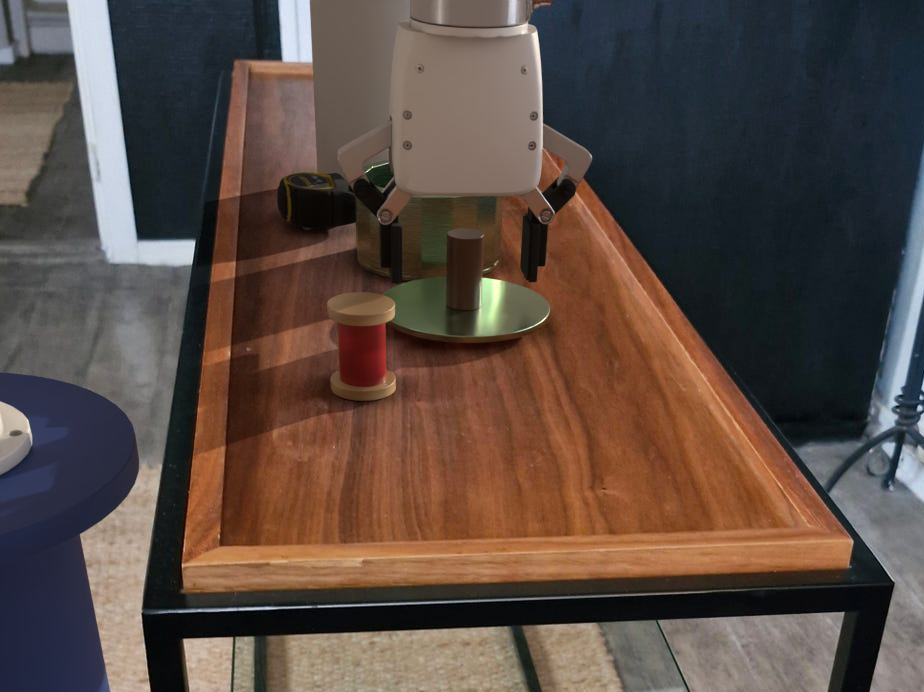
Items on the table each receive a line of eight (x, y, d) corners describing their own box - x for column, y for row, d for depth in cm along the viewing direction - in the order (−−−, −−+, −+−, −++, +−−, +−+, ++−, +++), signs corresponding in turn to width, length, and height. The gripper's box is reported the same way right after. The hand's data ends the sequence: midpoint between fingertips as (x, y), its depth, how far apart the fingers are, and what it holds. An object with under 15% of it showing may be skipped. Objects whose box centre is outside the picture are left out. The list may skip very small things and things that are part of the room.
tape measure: (366, 234, 105) (365, 188, 103) (288, 239, 103) (285, 192, 101) (347, 212, 110) (345, 167, 108) (271, 216, 108) (268, 171, 106)
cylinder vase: (429, 169, 122) (432, -136, 107) (465, 204, 113) (474, -124, 98) (306, 174, 119) (290, -139, 104) (333, 211, 110) (320, -127, 95)
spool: (332, 402, 77) (328, 315, 74) (329, 376, 81) (325, 292, 77) (398, 400, 78) (397, 314, 74) (393, 374, 81) (392, 291, 78)
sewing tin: (362, 283, 95) (359, 197, 91) (353, 238, 104) (351, 157, 100) (509, 281, 96) (513, 196, 93) (488, 237, 105) (490, 157, 101)
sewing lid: (384, 353, 84) (382, 263, 80) (371, 291, 94) (369, 208, 90) (563, 350, 85) (570, 261, 82) (533, 289, 95) (538, 207, 91)
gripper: (591, -4, 81) (570, 259, 92) (329, -10, 79) (338, 261, 89) (616, 14, 75) (591, 293, 86) (334, 9, 73) (344, 296, 83)
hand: (462, 276), depth 88 cm, fingers open, 9 cm apart
